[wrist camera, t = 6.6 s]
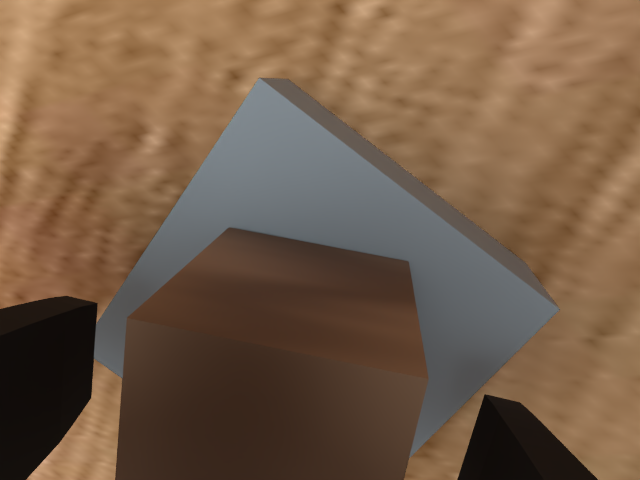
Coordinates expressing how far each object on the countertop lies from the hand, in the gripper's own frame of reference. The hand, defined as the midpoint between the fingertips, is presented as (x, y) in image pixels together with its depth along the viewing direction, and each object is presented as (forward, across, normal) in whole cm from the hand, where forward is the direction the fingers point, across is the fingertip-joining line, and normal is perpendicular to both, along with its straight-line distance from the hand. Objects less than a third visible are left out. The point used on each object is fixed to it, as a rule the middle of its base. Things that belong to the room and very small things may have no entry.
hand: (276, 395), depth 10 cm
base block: (+6, 0, 0) cm, 6 cm away
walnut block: (+3, 0, 0) cm, 3 cm away
